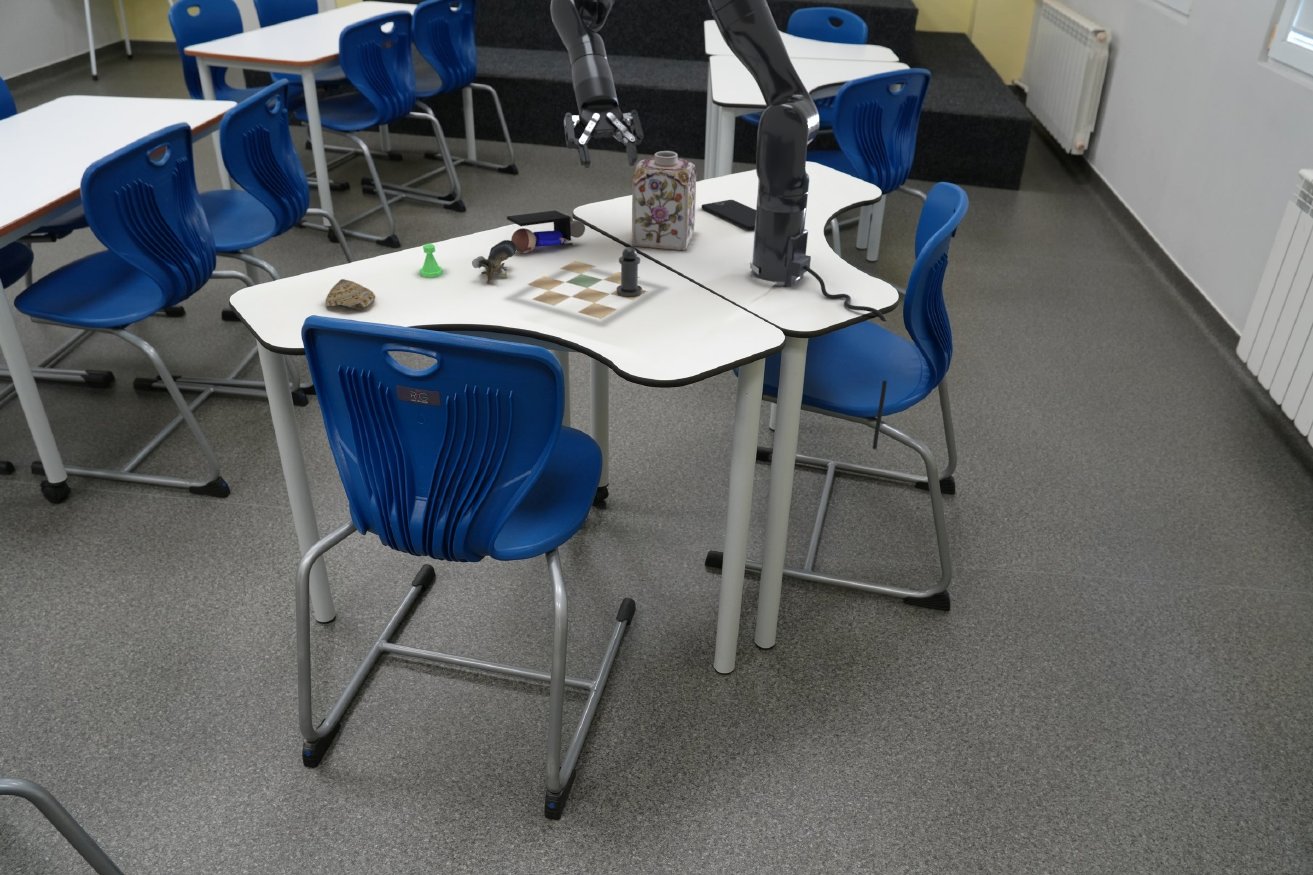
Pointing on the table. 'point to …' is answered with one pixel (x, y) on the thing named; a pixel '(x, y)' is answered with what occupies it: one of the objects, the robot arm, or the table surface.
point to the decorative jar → (663, 202)
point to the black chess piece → (629, 274)
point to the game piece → (430, 263)
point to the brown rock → (349, 295)
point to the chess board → (586, 294)
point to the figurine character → (562, 229)
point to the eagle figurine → (496, 259)
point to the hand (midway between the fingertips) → (610, 165)
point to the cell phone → (733, 213)
